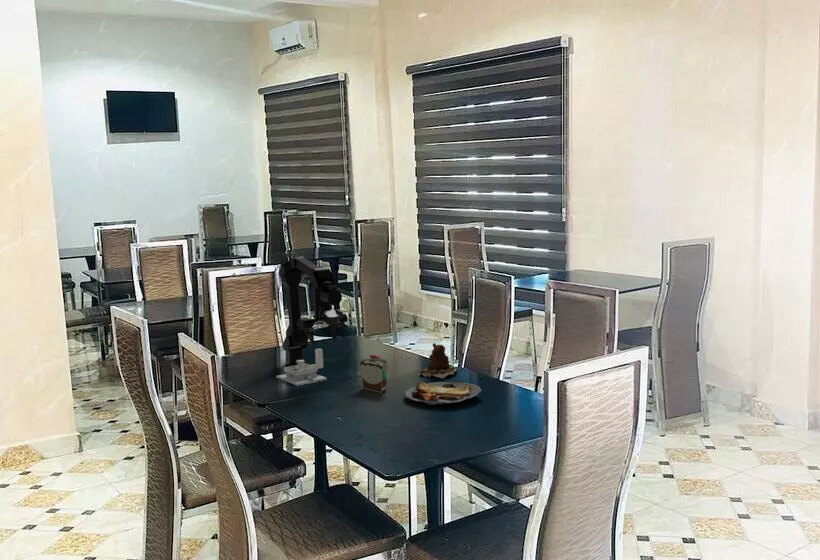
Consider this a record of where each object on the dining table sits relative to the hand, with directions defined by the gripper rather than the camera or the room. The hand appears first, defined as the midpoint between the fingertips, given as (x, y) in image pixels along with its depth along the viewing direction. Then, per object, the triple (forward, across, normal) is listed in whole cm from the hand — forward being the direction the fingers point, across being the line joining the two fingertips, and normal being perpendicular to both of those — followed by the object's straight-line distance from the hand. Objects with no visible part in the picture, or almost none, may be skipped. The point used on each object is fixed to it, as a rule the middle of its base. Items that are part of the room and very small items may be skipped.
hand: (323, 343), depth 293 cm
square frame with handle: (+10, -9, +2) cm, 13 cm away
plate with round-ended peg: (+12, -9, +2) cm, 15 cm away
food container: (+12, +4, -29) cm, 32 cm away
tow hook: (+15, +17, -9) cm, 24 cm away
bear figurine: (+12, +33, -26) cm, 44 cm away
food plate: (+12, +13, -53) cm, 56 cm away
